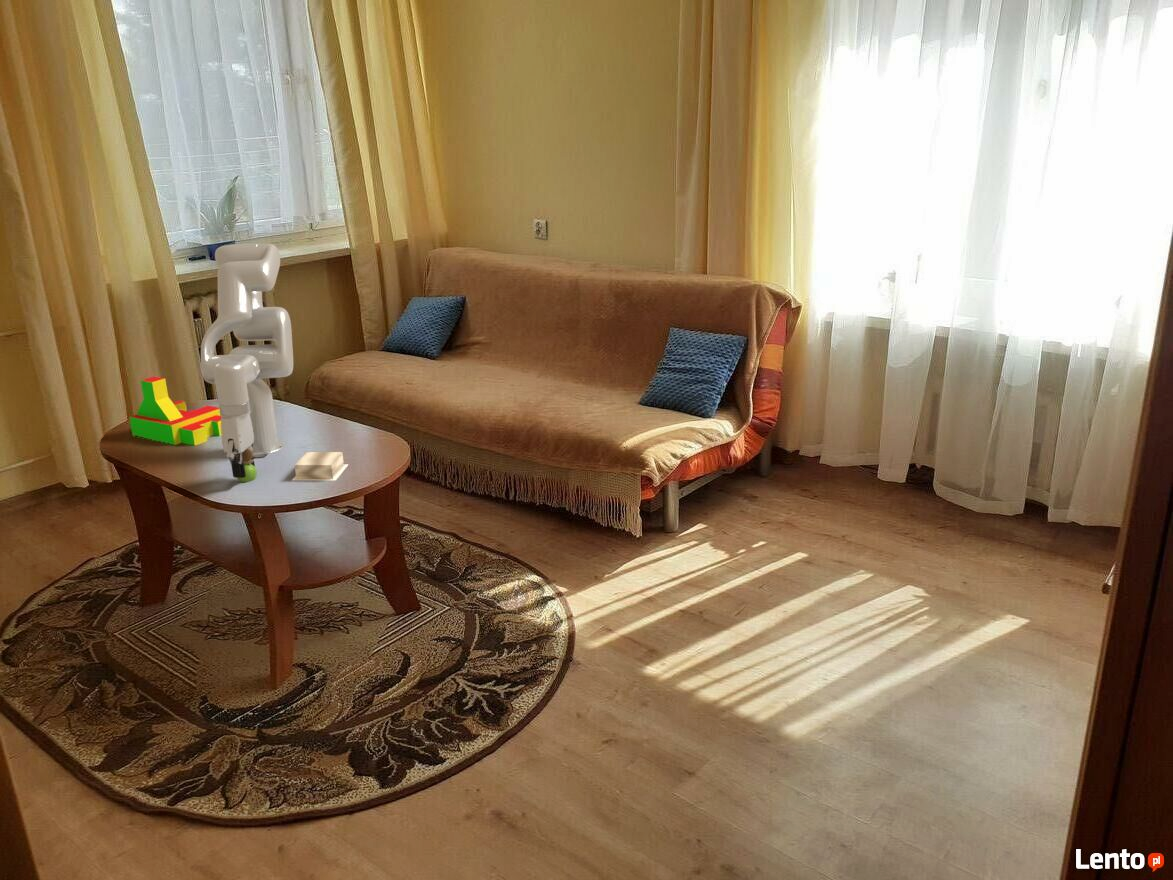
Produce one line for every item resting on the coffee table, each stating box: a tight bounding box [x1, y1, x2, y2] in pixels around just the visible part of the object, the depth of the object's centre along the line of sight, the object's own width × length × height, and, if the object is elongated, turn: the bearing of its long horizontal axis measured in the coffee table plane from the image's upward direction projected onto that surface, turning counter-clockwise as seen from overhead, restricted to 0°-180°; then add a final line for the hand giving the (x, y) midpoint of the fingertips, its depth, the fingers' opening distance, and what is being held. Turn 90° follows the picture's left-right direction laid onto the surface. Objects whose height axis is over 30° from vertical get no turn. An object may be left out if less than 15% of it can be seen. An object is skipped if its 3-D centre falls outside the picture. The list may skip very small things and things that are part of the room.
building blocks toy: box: [128, 376, 222, 446], centre depth 288 cm, size 19×25×18 cm
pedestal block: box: [294, 451, 345, 479], centre depth 253 cm, size 10×10×4 cm
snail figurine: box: [234, 447, 258, 483], centre depth 248 cm, size 5×6×12 cm
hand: (244, 472), depth 249 cm, fingers open, 5 cm apart
